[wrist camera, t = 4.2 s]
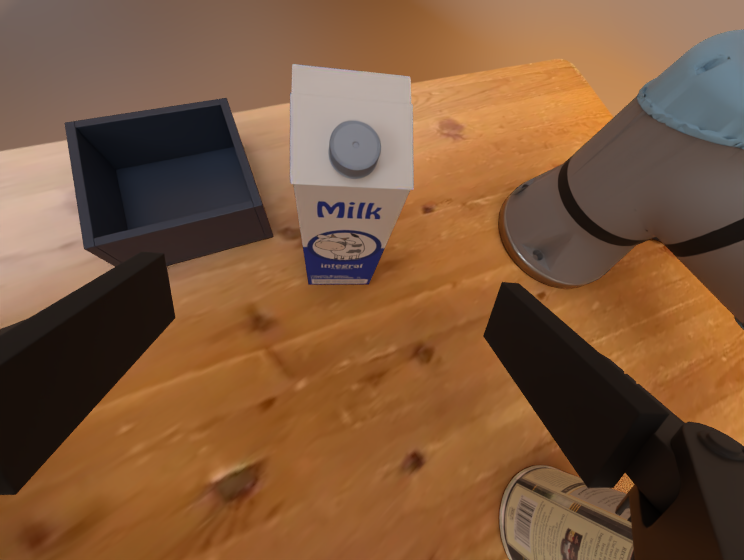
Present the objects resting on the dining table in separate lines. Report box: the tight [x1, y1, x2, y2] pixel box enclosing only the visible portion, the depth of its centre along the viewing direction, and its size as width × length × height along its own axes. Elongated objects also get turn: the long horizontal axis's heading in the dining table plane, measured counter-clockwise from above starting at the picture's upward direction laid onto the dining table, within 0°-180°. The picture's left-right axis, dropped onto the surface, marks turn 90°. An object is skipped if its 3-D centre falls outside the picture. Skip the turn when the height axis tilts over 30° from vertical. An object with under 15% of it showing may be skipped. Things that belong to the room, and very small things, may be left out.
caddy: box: [65, 98, 273, 267], centre depth 32 cm, size 15×14×7 cm
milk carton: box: [290, 64, 414, 284], centre depth 26 cm, size 7×7×20 cm
